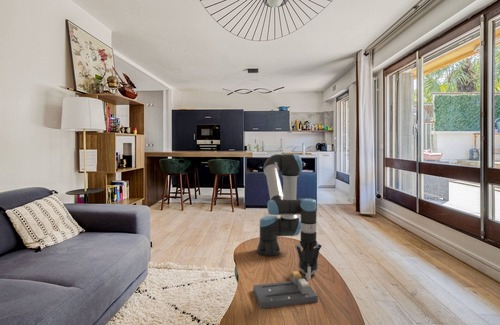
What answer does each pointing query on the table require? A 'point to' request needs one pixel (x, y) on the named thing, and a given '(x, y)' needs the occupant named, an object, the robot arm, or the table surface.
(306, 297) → the console
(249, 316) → the table surface
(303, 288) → the block
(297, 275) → the amber fader
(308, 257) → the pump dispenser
